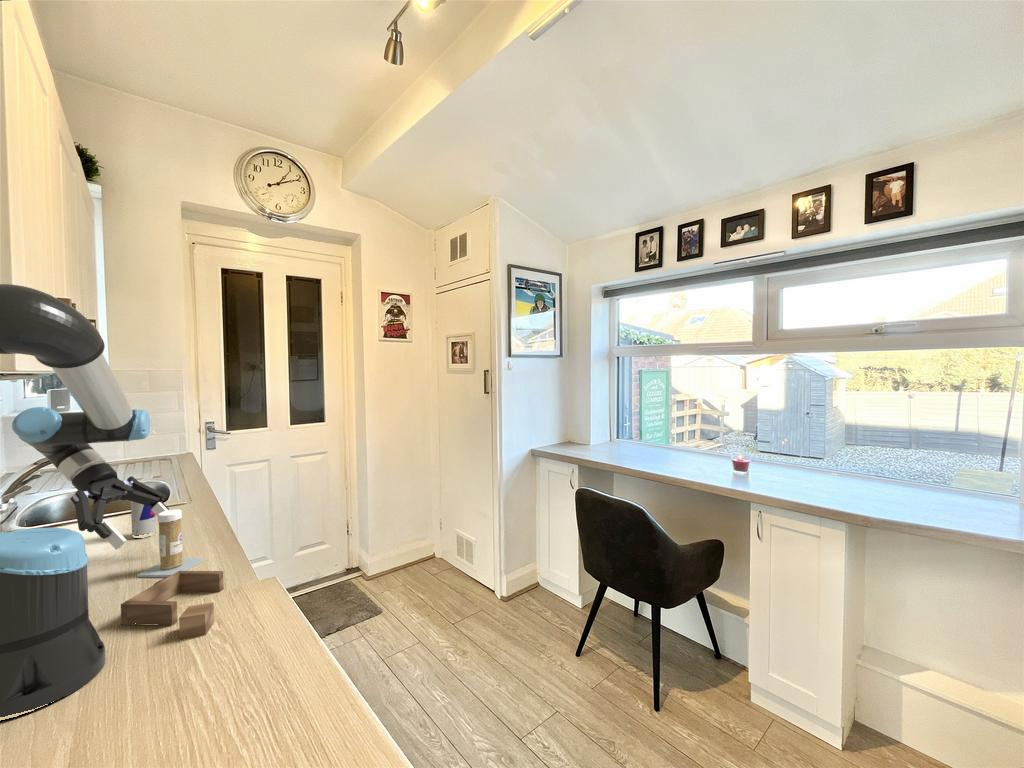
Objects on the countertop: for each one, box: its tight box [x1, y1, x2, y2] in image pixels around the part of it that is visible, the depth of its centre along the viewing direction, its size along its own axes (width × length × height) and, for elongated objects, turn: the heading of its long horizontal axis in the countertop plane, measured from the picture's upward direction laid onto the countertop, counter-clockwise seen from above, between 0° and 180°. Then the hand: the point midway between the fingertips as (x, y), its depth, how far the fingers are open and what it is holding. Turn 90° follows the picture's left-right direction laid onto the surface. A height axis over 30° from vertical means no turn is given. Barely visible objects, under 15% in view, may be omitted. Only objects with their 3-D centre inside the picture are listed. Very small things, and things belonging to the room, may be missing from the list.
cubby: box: [120, 570, 225, 626], centre depth 86 cm, size 13×10×4 cm
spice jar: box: [157, 509, 184, 570], centre depth 103 cm, size 5×5×14 cm
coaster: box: [136, 557, 205, 579], centre depth 103 cm, size 9×9×1 cm
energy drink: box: [130, 501, 157, 536], centre depth 124 cm, size 5×5×12 cm
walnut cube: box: [178, 602, 215, 640], centre depth 78 cm, size 4×4×4 cm
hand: (149, 533), depth 103 cm, fingers open, 13 cm apart
